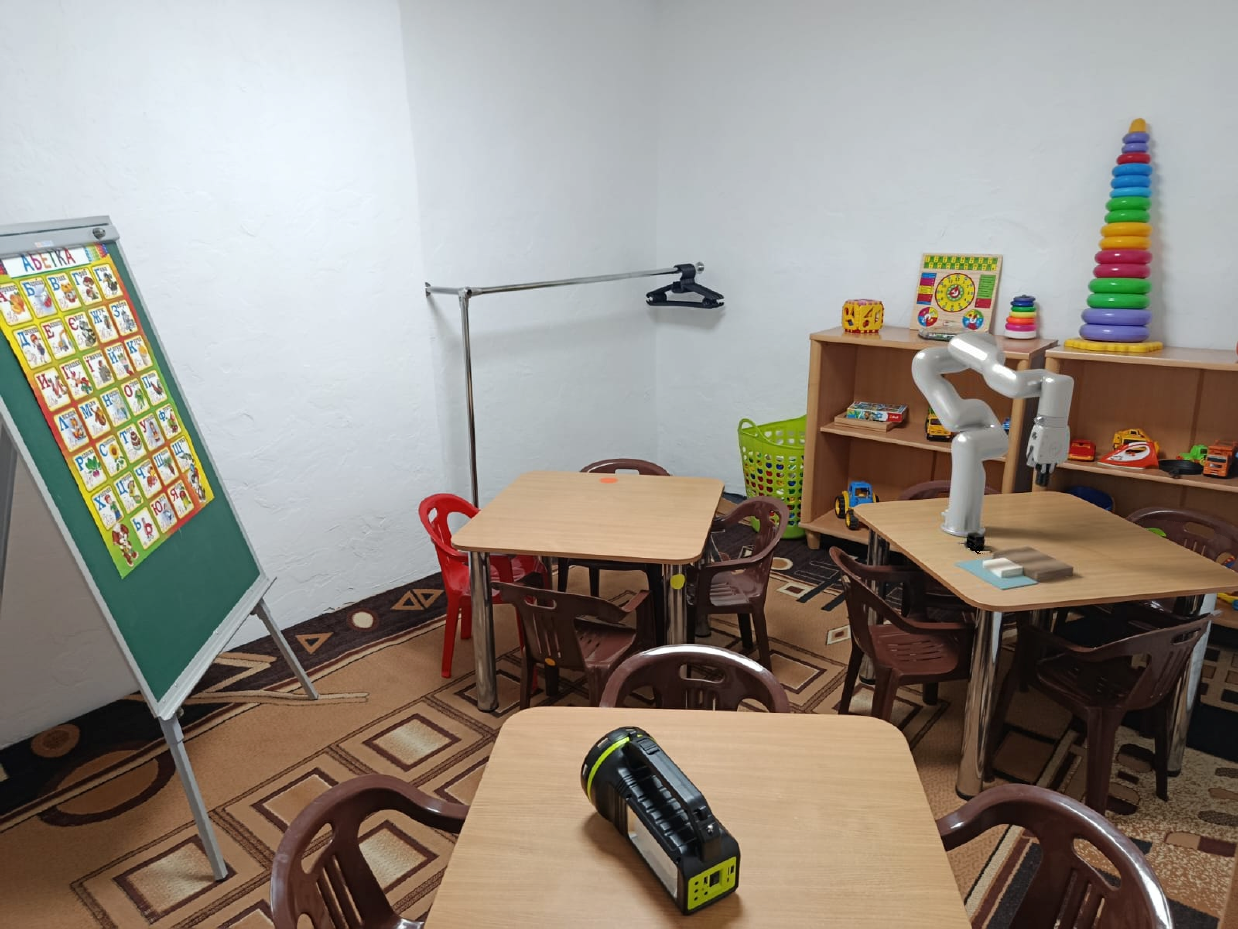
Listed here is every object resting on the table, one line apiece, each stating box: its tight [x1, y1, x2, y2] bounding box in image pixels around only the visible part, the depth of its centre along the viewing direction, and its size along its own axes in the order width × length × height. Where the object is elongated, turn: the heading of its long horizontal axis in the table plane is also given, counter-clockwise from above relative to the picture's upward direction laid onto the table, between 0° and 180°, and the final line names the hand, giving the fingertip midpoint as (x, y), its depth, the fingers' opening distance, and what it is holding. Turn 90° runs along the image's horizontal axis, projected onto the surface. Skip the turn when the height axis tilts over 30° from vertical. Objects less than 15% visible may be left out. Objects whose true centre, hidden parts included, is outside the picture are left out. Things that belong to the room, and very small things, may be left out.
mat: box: [954, 557, 1039, 591], centre depth 224 cm, size 18×12×1 cm, turn 18°
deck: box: [992, 545, 1074, 583], centre depth 227 cm, size 16×12×2 cm
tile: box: [982, 558, 1023, 577], centre depth 225 cm, size 7×7×2 cm
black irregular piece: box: [958, 532, 992, 555], centre depth 242 cm, size 12×7×5 cm, turn 16°
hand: (1041, 485), depth 228 cm, fingers closed
